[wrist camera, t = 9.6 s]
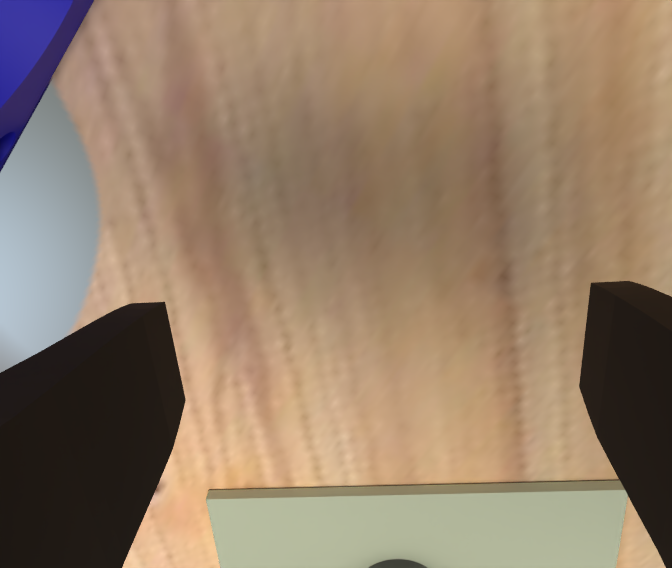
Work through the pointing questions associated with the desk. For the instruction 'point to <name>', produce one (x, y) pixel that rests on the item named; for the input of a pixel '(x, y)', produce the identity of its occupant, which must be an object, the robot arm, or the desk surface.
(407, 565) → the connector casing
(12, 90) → the cable clip
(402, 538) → the desk mat
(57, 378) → the robot arm
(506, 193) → the desk surface
